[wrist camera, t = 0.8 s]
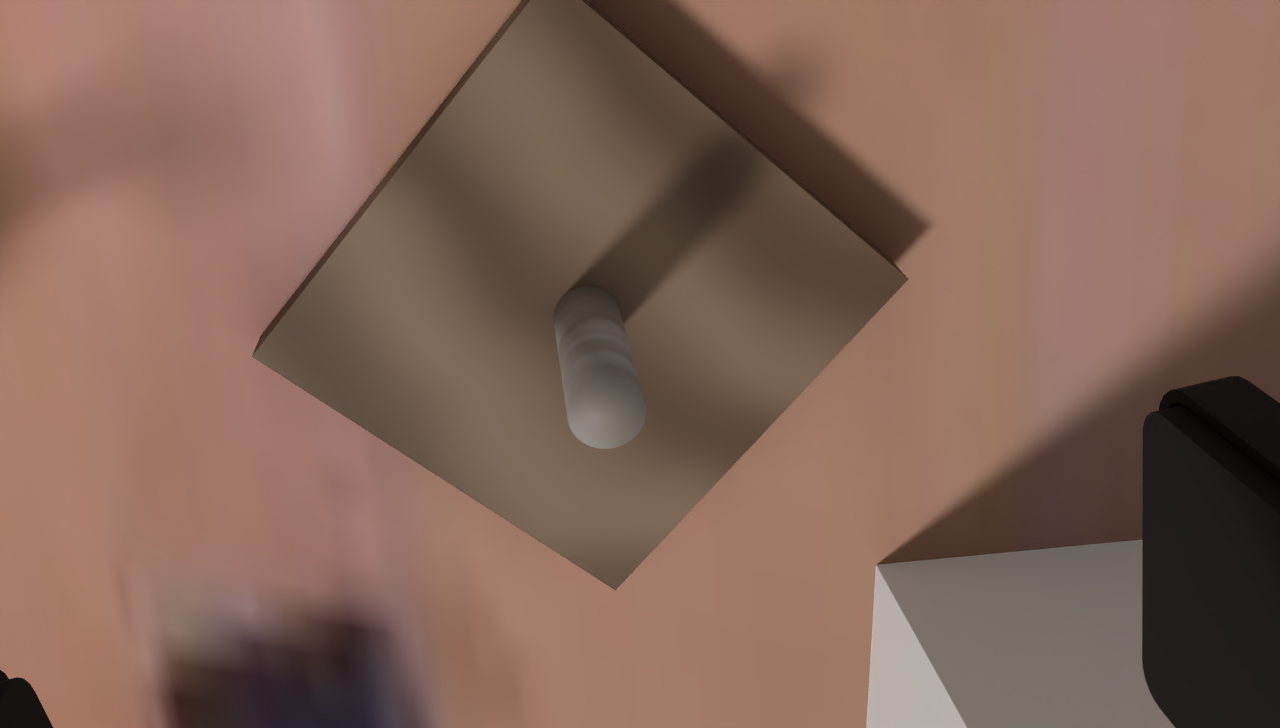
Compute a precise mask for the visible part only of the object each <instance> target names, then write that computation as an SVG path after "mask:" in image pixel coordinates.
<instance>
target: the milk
mask: <svg viewBox="0 0 1280 728" xmlns="http://www.w3.org/2000/svg"><path fill="white" fill-rule="evenodd" d="M1142 546H1143V540H1133V541H1122V542H1112V543H1101V544H1090V545H1080V546H1069V547H1059V548H1048V549H1038V550H1027V551H1016V552H1006V553H995V554H985V555H974V556H964V557H953V558H942V559H932V560H921V561H911V562H900V563H889V564H879V565H876V575H875V592H874V609H873V625H872V642H871V659H870V676H869V693H868V710H867V726H866V728H1175V727H1174V726H1173V724H1172V723H1171V722H1170V721H1169V719H1168V718H1167V717H1166V716H1165V714H1164V713H1163V712H1162V711H1161V709H1160V708H1159V707H1158V705H1157V704H1156V702H1155V701H1154V699H1153V697H1152V695H1151V693H1150V691H1149V688H1148V685H1147V683H1146V680H1145V676H1144V672H1143V664H1142Z"/></svg>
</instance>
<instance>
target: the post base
mask: <svg viewBox="0 0 1280 728" xmlns="http://www.w3.org/2000/svg"><path fill="white" fill-rule="evenodd" d="M907 280H908V278H907V277H906V276H905V275H904V274H903V273H902V272H901V271H900V269H899V268H898V267H897V266H896V265H895V264H894V263H893V262H892V261H891V260H890V259H888V258H887V257H886V256H885V255H884V254H883V253H881V252H880V251H879V250H878V249H877V248H876V247H874V246H873V245H872V244H871V243H870V242H869V241H867V240H866V239H865V238H864V237H863V236H862V235H860V234H859V233H858V232H857V231H856V230H855V229H853V228H852V227H851V226H850V225H849V224H847V223H846V222H845V221H844V220H843V219H842V218H840V217H839V216H838V215H837V214H836V213H835V212H833V211H832V210H831V209H830V208H829V207H828V206H826V205H825V204H824V203H823V202H822V201H821V200H819V199H818V198H817V197H816V196H815V195H814V194H812V193H811V192H810V191H809V190H808V189H807V188H805V187H804V186H803V185H802V184H801V183H800V182H798V181H797V180H796V179H795V178H794V177H793V176H791V175H790V174H789V173H788V172H787V171H786V170H784V169H783V168H782V167H781V166H780V165H779V164H777V163H776V162H775V161H774V160H773V159H772V158H770V157H769V156H768V155H767V154H766V153H764V152H763V151H762V150H761V149H760V148H759V147H757V146H756V145H755V144H754V143H753V142H752V141H750V140H749V139H748V138H747V137H746V136H745V135H743V134H742V133H741V132H740V131H739V130H738V129H736V128H735V127H734V126H733V125H732V124H731V123H729V122H728V121H727V120H726V119H725V118H724V117H722V116H721V115H720V114H719V113H718V112H717V111H715V110H714V109H713V108H712V107H711V106H710V105H708V104H707V103H706V102H705V101H704V100H703V99H701V98H700V97H699V96H698V95H697V94H696V93H694V92H693V91H692V90H691V89H690V88H689V87H687V86H686V85H685V84H684V83H683V82H681V81H680V80H679V79H678V78H677V77H676V76H674V75H673V74H672V73H671V72H670V71H669V70H667V69H666V68H665V67H664V66H663V65H662V64H660V63H659V62H658V61H657V60H656V59H655V58H653V57H652V56H651V55H650V54H649V53H648V52H646V51H645V50H644V49H643V48H642V47H641V46H639V45H638V44H637V43H636V42H635V41H634V40H632V39H631V38H630V37H629V36H628V35H627V34H625V33H624V32H623V31H622V30H621V29H620V28H618V27H617V26H616V25H615V24H614V23H613V22H611V21H610V20H609V19H608V18H607V17H606V16H604V15H603V14H602V13H601V12H600V11H598V10H597V9H596V8H595V7H594V6H593V5H591V4H590V3H589V2H588V1H587V0H522V2H521V3H520V4H519V5H518V7H517V8H516V9H515V11H514V12H513V13H512V14H511V16H510V17H509V18H508V19H507V21H506V22H505V23H504V25H503V26H502V27H501V28H500V30H499V31H498V32H497V34H496V35H495V36H494V37H493V39H492V40H491V41H490V43H489V44H488V45H487V46H486V48H485V49H484V50H483V52H482V53H481V54H480V55H479V57H478V58H477V59H476V61H475V62H474V63H473V64H472V66H471V67H470V68H469V70H468V71H467V72H466V73H465V75H464V76H463V77H462V79H461V80H460V81H459V82H458V84H457V85H456V86H455V88H454V89H453V90H452V91H451V93H450V94H449V95H448V97H447V98H446V99H445V100H444V102H443V103H442V104H441V105H440V107H439V108H438V109H437V111H436V112H435V113H434V114H433V116H432V117H431V118H430V120H429V121H428V122H427V123H426V125H425V126H424V127H423V129H422V130H421V131H420V132H419V134H418V135H417V136H416V138H415V139H414V140H413V141H412V143H411V144H410V145H409V147H408V148H407V149H406V150H405V152H404V153H403V154H402V156H401V157H400V158H399V159H398V161H397V162H396V163H395V165H394V166H393V167H392V168H391V170H390V171H389V172H388V174H387V175H386V176H385V177H384V179H383V180H382V181H381V182H380V184H379V185H378V186H377V188H376V189H375V190H374V191H373V193H372V194H371V195H370V197H369V198H368V199H367V200H366V202H365V203H364V204H363V206H362V207H361V208H360V209H359V211H358V212H357V213H356V215H355V216H354V217H353V218H352V220H351V221H350V222H349V224H348V225H347V226H346V227H345V229H344V230H343V231H342V233H341V234H340V235H339V236H338V238H337V239H336V240H335V242H334V243H333V244H332V245H331V247H330V248H329V249H328V251H327V252H326V253H325V254H324V256H323V257H322V258H321V260H320V261H319V262H318V263H317V265H316V266H315V267H314V268H313V270H312V271H311V272H310V274H309V275H308V276H307V277H306V279H305V280H304V281H303V283H302V284H301V285H300V286H299V288H298V289H297V290H296V292H295V293H294V294H293V295H292V297H291V298H290V299H289V301H288V302H287V303H286V304H285V306H284V307H283V308H282V310H281V311H280V312H279V313H278V315H277V316H276V317H275V319H274V320H273V321H272V322H271V324H270V325H269V326H268V328H267V329H266V330H265V331H264V333H263V334H262V335H261V337H260V339H259V341H258V343H257V346H256V348H255V351H254V353H253V355H252V357H253V358H255V359H257V360H258V361H260V362H261V363H263V364H264V365H266V366H267V367H269V368H271V369H272V370H274V371H275V372H277V373H278V374H280V375H281V376H283V377H285V378H286V379H288V380H289V381H291V382H292V383H294V384H295V385H297V386H299V387H300V388H302V389H303V390H305V391H306V392H308V393H309V394H311V395H313V396H314V397H316V398H317V399H319V400H320V401H322V402H323V403H325V404H327V405H328V406H330V407H331V408H333V409H334V410H336V411H337V412H339V413H341V414H342V415H344V416H345V417H347V418H348V419H350V420H351V421H353V422H355V423H356V424H358V425H359V426H361V427H362V428H364V429H365V430H367V431H369V432H370V433H372V434H373V435H375V436H376V437H378V438H379V439H381V440H383V441H384V442H386V443H387V444H389V445H390V446H392V447H393V448H395V449H397V450H398V451H400V452H401V453H403V454H404V455H406V456H407V457H409V458H411V459H412V460H414V461H415V462H417V463H418V464H420V465H421V466H423V467H425V468H426V469H428V470H429V471H431V472H432V473H434V474H435V475H437V476H439V477H440V478H442V479H443V480H445V481H446V482H448V483H449V484H451V485H453V486H454V487H456V488H457V489H459V490H460V491H462V492H463V493H465V494H467V495H468V496H470V497H471V498H473V499H474V500H476V501H477V502H479V503H481V504H482V505H484V506H485V507H487V508H488V509H490V510H491V511H493V512H495V513H496V514H498V515H499V516H501V517H502V518H504V519H505V520H507V521H509V522H510V523H512V524H513V525H515V526H516V527H518V528H519V529H521V530H523V531H524V532H526V533H527V534H529V535H530V536H532V537H533V538H535V539H537V540H538V541H540V542H541V543H543V544H544V545H546V546H547V547H549V548H551V549H552V550H554V551H555V552H557V553H558V554H560V555H561V556H563V557H565V558H566V559H568V560H569V561H571V562H572V563H574V564H575V565H577V566H579V567H580V568H582V569H583V570H585V571H586V572H588V573H589V574H591V575H593V576H594V577H596V578H597V579H599V580H600V581H602V582H603V583H605V584H607V585H608V586H610V587H611V588H613V589H614V590H616V589H617V588H618V587H619V586H620V585H621V584H622V583H623V582H624V581H625V580H626V578H627V577H628V576H629V575H630V574H631V573H632V572H633V571H634V570H635V569H636V568H637V567H638V566H639V565H640V564H641V563H642V561H643V560H644V559H645V558H646V557H647V556H648V555H649V554H650V553H651V552H652V551H653V550H654V549H655V548H656V547H657V546H658V544H659V543H660V542H661V541H662V540H663V539H664V538H665V537H666V536H667V535H668V534H669V533H670V532H671V531H672V530H673V529H674V528H675V526H676V525H677V524H678V523H679V522H680V521H681V520H682V519H683V518H684V517H685V516H686V515H687V514H688V513H689V512H690V511H691V509H692V508H693V507H694V506H695V505H696V504H697V503H698V502H699V501H700V500H701V499H702V498H703V497H704V496H705V495H706V494H707V492H708V491H709V490H710V489H711V488H712V487H713V486H714V485H715V484H716V483H717V482H718V481H719V480H720V479H721V478H722V477H723V475H724V474H725V473H726V472H727V471H728V470H729V469H730V468H731V467H732V466H733V465H734V464H735V463H736V462H737V461H738V460H739V458H740V457H741V456H742V455H743V454H744V453H745V452H746V451H747V450H748V449H749V448H750V447H751V446H752V445H753V444H754V443H755V441H756V440H757V439H758V438H759V437H760V436H761V435H762V434H763V433H764V432H765V431H766V430H767V429H768V428H769V427H770V426H771V424H772V423H773V422H774V421H775V420H776V419H777V418H778V417H779V416H780V415H781V414H782V413H783V412H784V411H785V410H786V409H787V408H788V406H789V405H790V404H791V403H792V402H793V401H794V400H795V399H796V398H797V397H798V396H799V395H800V394H801V393H802V392H803V391H804V389H805V388H806V387H807V386H808V385H809V384H810V383H811V382H812V381H813V380H814V379H815V378H816V377H817V376H818V375H819V374H820V372H821V371H822V370H823V369H824V368H825V367H826V366H827V365H828V364H829V363H830V362H831V361H832V360H833V359H834V358H835V357H836V355H837V354H838V353H839V352H840V351H841V350H842V349H843V348H844V347H845V346H846V345H847V344H848V343H849V342H850V341H851V340H852V338H853V337H854V336H855V335H856V334H857V333H858V332H859V331H860V330H861V329H862V328H863V327H864V326H865V325H866V324H867V323H868V321H869V320H870V319H871V318H872V317H873V316H874V315H875V314H876V313H877V312H878V311H879V310H880V309H881V308H882V307H883V306H884V305H885V303H886V302H887V301H888V300H889V299H890V298H891V297H892V296H893V295H894V294H895V293H896V292H897V291H898V290H899V289H900V288H901V286H902V285H903V284H904V283H905V282H906V281H907Z"/></svg>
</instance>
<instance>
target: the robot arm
mask: <svg viewBox="0 0 1280 728" xmlns="http://www.w3.org/2000/svg"><path fill="white" fill-rule="evenodd" d="M1142 664H1143V672H1144V676H1145V680H1146V683H1147V685H1148V688H1149V691H1150V693H1151V695H1152V697H1153V699H1154V701H1155V702H1156V704H1157V705H1158V707H1159V708H1160V709H1161V711H1162V712H1163V713H1164V714H1165V716H1166V717H1167V718H1168V719H1169V721H1170V722H1171V723H1172V724H1173V726H1174V727H1175V728H1280V403H1279V402H1277V401H1276V400H1274V399H1273V398H1271V397H1270V396H1269V395H1267V394H1266V393H1264V392H1263V391H1262V390H1260V389H1259V388H1257V387H1256V386H1255V385H1253V384H1252V383H1250V382H1249V381H1247V380H1245V379H1243V378H1241V377H1239V376H1231V377H1226V378H1221V379H1217V380H1213V381H1209V382H1204V383H1200V384H1196V385H1191V386H1187V387H1183V388H1178V389H1174V390H1170V391H1169V392H1167V393H1166V394H1165V395H1164V396H1163V398H1162V400H1161V403H1160V406H1159V411H1155V412H1151V413H1150V414H1149V415H1147V416H1146V419H1145V421H1144V426H1143V546H1142ZM0 728H53V727H52V725H51V723H50V721H49V719H48V717H47V715H46V713H45V711H44V709H43V707H42V705H41V703H40V701H39V699H38V697H37V695H36V693H35V691H34V690H33V688H32V686H31V685H30V684H29V683H28V682H27V681H26V680H25V679H23V678H13V679H8V677H7V676H6V674H5V673H4V672H2V671H1V670H0Z"/></svg>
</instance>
